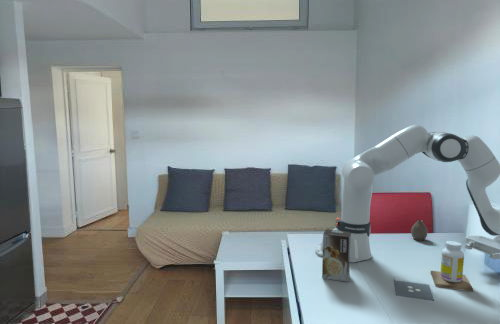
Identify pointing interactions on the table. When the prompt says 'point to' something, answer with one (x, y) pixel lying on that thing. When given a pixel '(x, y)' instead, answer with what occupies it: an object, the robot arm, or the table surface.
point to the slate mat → (413, 290)
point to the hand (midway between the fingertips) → (478, 251)
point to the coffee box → (336, 255)
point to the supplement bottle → (452, 262)
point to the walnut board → (443, 283)
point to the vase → (419, 231)
